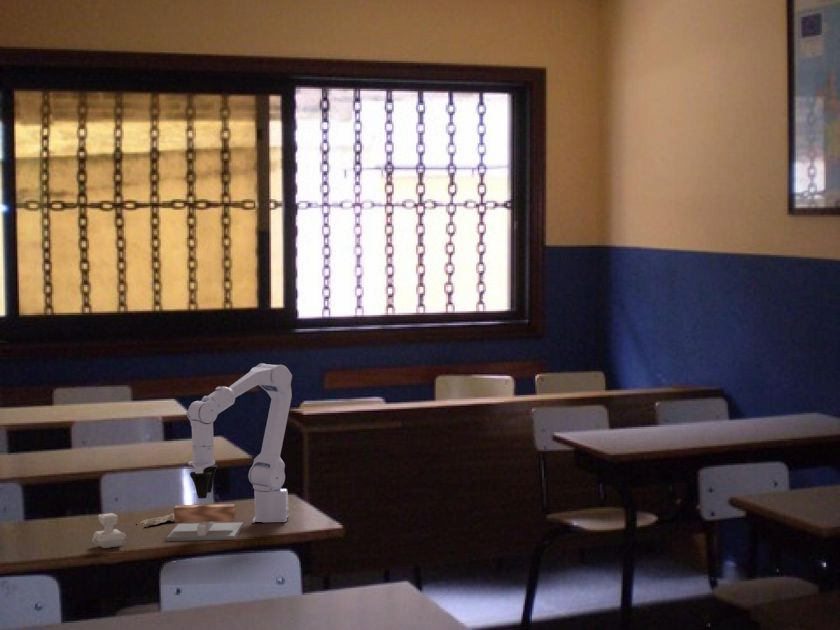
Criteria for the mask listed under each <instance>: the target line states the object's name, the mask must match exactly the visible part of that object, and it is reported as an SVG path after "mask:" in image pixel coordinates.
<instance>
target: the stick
mask: <svg viewBox="0 0 840 630" xmlns="http://www.w3.org/2000/svg"><path fill="white" fill-rule="evenodd" d="M173 512H174V521H173V522H174V523H200V522H214V523H216V522H234V521H235V520H236V504H235V503H228V504H227V503H224V504H183V505H181V504H180V505H179V504H178V505H175V506H174V507H173Z"/></svg>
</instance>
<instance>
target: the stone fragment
mask: <svg viewBox="0 0 840 630" xmlns="http://www.w3.org/2000/svg"><path fill="white" fill-rule="evenodd" d="M167 521H170V522H175V521H174V511H172V513H169V514H166V515H164V516H158V517H152V518H149V519H148V518H146V519H144V520H142V521H140V523H144V524H145V525H146V528H148V527H150V526H154V525H158V524H160V523H166V522H167ZM144 524H143V525H144Z"/></svg>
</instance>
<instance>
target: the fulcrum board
mask: <svg viewBox="0 0 840 630" xmlns="http://www.w3.org/2000/svg"><path fill="white" fill-rule="evenodd" d="M243 527H244V522H192V523H177V525H176V526H175V527H174V528H173V529H172V530H171V532H170V533H169V534H168V535H167V536H166V542H175V541H176V542H179V541H184V542H185V541H219V540H220V541H223V540H226V541H228V540H230V541H231V540H235V539H236V538H237V537H238V535H239V534H240V532H241V530H242V529H243ZM241 528H242V529H241Z"/></svg>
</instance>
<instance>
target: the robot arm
mask: <svg viewBox="0 0 840 630" xmlns="http://www.w3.org/2000/svg"><path fill="white" fill-rule="evenodd" d="M292 379H293V375H292V373H291V371H290V370H289V368H288V367H287V366H286V365H283V364H268V363H267V364H266V363H263V362H262V363H258V364H257V365H256V366H253V367H252V368H251V369H250V371H249V372H248V373H246V374H245V375H243V376H242V377H240V378H238V380H236V381H235V382H234V383H233V384H231V385H230V386H228V387H227V386H224V385H223V386H217V387H216V388H215V390H214V391H213V392H212V393H210V394H208V395H204V396H202V398H201V400H196V401H193V402H191V404H190V405H189V406H188V410H187V411H186V417H187V419H188V420H189V422H190V426H191V445H192V461H188V462H187V463H188V466H192V467H194V470H195V471H191V472H189V476H190V478H191V479H192V482H193V483H194V488H195V491H196V495H197V498H198V499H207V496H208V493H212V491H213V490H212V489H213V484H214V478H215V474H216V471H217V469H218V464H216V460H215V443H214V422H215V421H216V419H217V418H218V415H219V414H220V413H222V412H224V411H225V410H226V409H228V408H229V407H231V406H233V405H234V404H235V401H236V398H237V397H239V396H241V395H243V394H244V393H246V392H247V391H249V390H251V389H254V388H255V387H257V386H259V387H260V388H261V389H263V390H264V391H265V392H266V393H267V394H268V395H269V397H270V399H271V400H270V404H269V410H268V415H267V421H266V425H265V430H264V434H263V440H262V445H261V449H260V450H261V451H260V453H259V454H258V455H257V456H255V458H254V459H253V463H252V466H251V467H250V468H249V471H248V475H247V477H248V480H249V482H250V483H251V484H252V489H253V490H254V491H253V494H254V517H253V519H252V520H251V521H252V522H251V523H252V524H253V523H254V524H255V522H262V523H285V522H287V521H288V519H289V517H288V516H290V515H289V514H290V510H289V492H288V489H287V488H282V487H283V485H284V483H285V480H286V473H285V468H286V464H285V462H284V461H283V459H282V458H281V453H282V448H283V442H284V438H285V433H286V427H287V422H288V417H289V414H290V413H289V412H290V407H291V402H292V397H293V396H292V394H293V393H292V385H291V383H292ZM287 518H288V519H287Z"/></svg>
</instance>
